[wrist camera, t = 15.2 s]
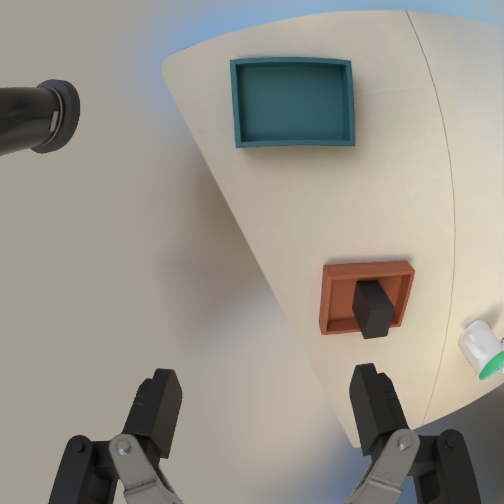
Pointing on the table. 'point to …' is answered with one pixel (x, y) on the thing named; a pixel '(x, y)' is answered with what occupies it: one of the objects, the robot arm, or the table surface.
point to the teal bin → (292, 101)
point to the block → (372, 309)
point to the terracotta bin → (343, 287)
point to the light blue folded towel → (503, 367)
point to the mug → (482, 349)
